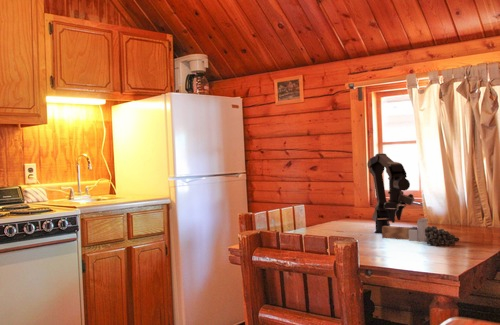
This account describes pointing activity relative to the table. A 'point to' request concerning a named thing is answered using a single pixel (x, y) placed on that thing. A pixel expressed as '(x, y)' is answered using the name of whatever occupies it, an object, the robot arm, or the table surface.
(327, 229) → the table surface
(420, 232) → the grey block with legs
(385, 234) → the rail
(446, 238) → the fruit
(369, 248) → the table surface
